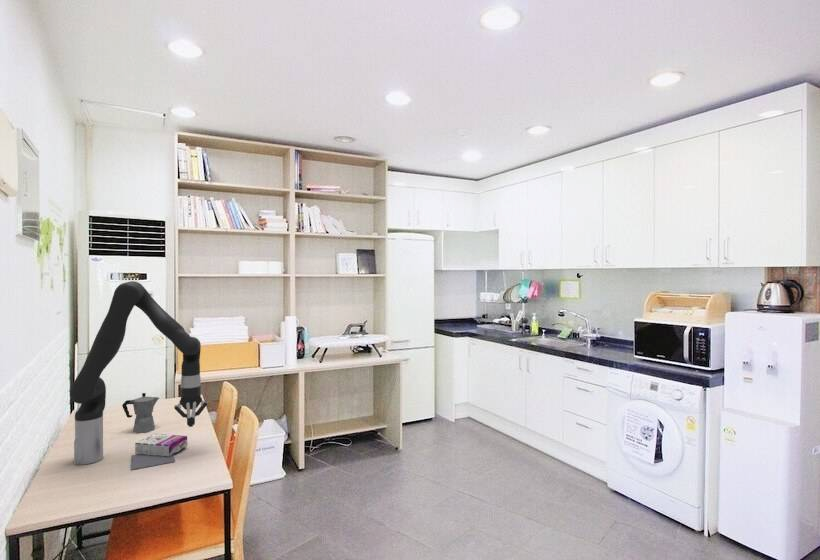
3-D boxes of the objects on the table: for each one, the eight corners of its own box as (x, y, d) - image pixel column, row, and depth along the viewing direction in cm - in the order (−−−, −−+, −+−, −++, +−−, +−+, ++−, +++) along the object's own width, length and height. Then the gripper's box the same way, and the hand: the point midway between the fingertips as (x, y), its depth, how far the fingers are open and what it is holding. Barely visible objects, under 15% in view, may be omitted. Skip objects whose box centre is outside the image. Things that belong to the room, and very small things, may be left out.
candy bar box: (187, 447, 194) (155, 444, 197) (187, 435, 194) (154, 432, 197) (169, 457, 183) (134, 454, 186) (168, 445, 183) (134, 442, 186)
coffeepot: (157, 425, 224) (157, 389, 224) (161, 429, 217) (161, 392, 217) (121, 431, 215) (120, 394, 215) (124, 437, 207) (123, 398, 207)
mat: (130, 470, 171) (130, 469, 171) (131, 456, 185) (131, 455, 185) (174, 462, 179) (174, 461, 179) (172, 449, 193) (172, 448, 193)
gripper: (173, 389, 182) (173, 431, 182) (209, 385, 189) (209, 426, 189) (172, 385, 189) (172, 426, 189) (206, 381, 195) (207, 421, 196)
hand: (191, 426), depth 189 cm, fingers closed
